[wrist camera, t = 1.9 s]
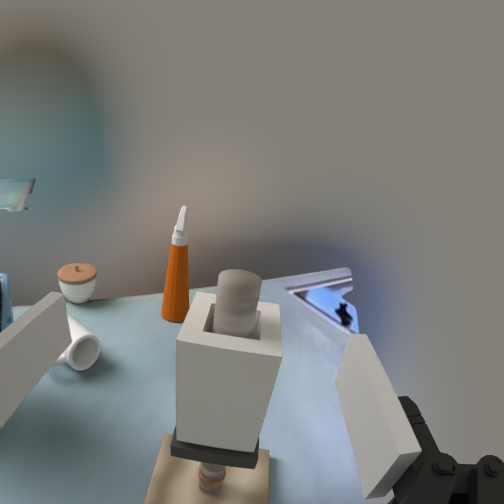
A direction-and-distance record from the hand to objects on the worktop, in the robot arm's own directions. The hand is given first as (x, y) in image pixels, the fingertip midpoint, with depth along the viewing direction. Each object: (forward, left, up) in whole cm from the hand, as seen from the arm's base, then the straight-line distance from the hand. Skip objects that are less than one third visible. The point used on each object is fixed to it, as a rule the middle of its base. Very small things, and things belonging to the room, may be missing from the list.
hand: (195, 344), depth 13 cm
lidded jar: (-65, -9, -35) cm, 75 cm away
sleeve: (-7, +6, -16) cm, 19 cm away
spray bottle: (-55, +16, -35) cm, 67 cm away
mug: (-40, -12, -35) cm, 55 cm away
